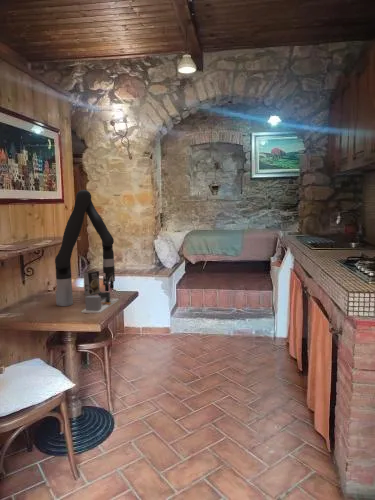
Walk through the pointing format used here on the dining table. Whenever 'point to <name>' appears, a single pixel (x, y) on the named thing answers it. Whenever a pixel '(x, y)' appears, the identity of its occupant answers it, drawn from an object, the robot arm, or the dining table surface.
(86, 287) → the coffee box
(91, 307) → the gauge base
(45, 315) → the dining table surface
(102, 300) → the tall dark grey box
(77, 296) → the dining table surface
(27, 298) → the dining table surface
